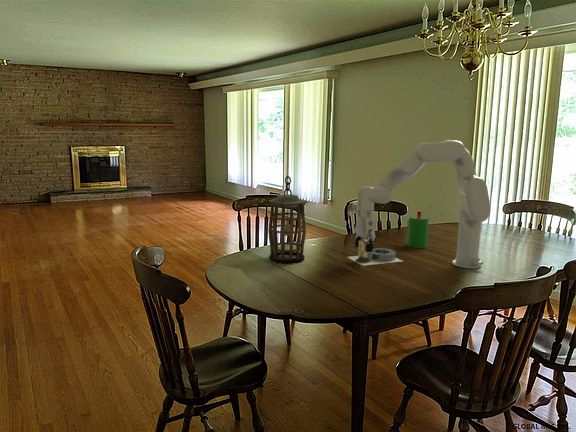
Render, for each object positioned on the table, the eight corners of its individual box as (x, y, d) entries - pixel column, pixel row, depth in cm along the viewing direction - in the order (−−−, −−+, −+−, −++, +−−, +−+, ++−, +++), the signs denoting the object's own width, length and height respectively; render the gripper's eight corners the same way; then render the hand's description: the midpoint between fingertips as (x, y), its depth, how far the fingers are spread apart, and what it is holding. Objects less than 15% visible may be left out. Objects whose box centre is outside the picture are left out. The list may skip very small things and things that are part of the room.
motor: (425, 244, 250) (427, 208, 247) (428, 248, 242) (431, 211, 238) (406, 243, 251) (408, 208, 248) (409, 247, 243) (411, 211, 239)
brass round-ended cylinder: (370, 261, 212) (371, 241, 210) (361, 262, 210) (362, 242, 208) (365, 258, 217) (366, 239, 215) (356, 259, 215) (356, 239, 213)
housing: (400, 259, 216) (400, 253, 215) (377, 262, 211) (377, 256, 211) (385, 253, 227) (385, 247, 227) (363, 255, 223) (363, 249, 222)
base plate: (403, 263, 214) (403, 260, 214) (362, 267, 206) (362, 264, 206) (385, 255, 228) (385, 252, 228) (346, 258, 220) (346, 256, 220)
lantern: (314, 257, 222) (316, 175, 214) (294, 267, 205) (295, 179, 198) (280, 251, 231) (281, 173, 224) (258, 260, 215) (259, 176, 208)
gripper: (382, 216, 203) (380, 253, 206) (362, 209, 219) (361, 244, 222) (367, 217, 200) (366, 254, 203) (348, 210, 216) (347, 245, 219)
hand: (363, 249), depth 212 cm, fingers open, 9 cm apart
